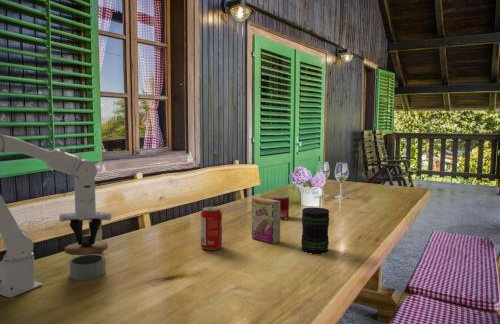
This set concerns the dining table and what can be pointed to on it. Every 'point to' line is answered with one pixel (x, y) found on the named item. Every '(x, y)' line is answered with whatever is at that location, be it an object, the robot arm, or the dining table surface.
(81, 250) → the lid
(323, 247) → the storage jar
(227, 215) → the dining table surface
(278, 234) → the candy bar box
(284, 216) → the canned food
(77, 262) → the bowl
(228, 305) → the dining table surface
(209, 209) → the soda can
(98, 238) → the sprinkles bottle
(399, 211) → the dining table surface
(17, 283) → the robot arm
